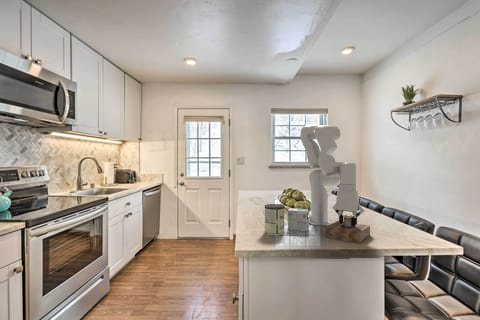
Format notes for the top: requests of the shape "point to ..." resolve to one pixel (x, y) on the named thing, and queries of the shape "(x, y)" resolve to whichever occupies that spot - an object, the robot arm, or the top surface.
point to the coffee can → (274, 219)
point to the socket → (347, 232)
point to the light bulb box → (298, 219)
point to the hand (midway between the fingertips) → (347, 224)
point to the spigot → (348, 221)
